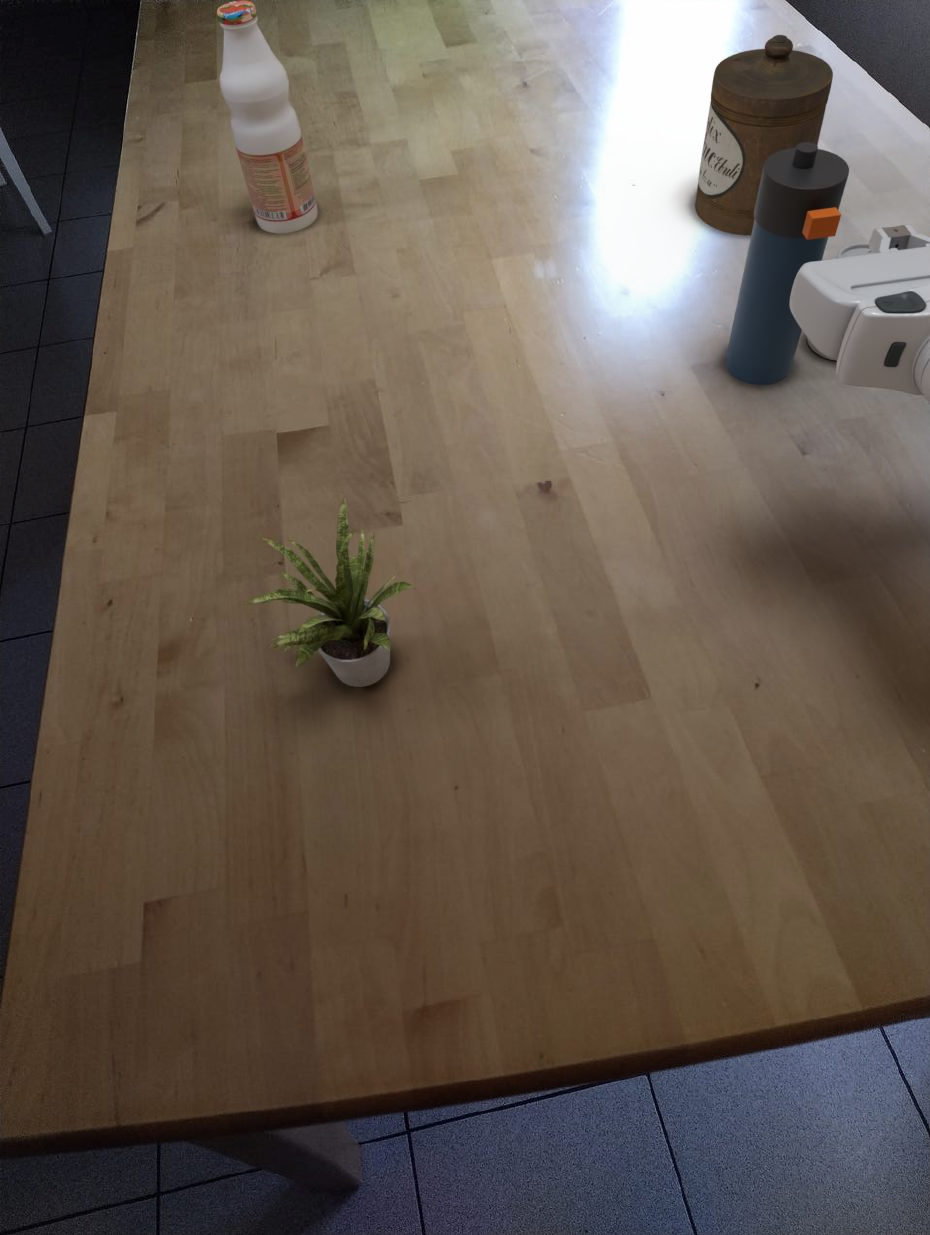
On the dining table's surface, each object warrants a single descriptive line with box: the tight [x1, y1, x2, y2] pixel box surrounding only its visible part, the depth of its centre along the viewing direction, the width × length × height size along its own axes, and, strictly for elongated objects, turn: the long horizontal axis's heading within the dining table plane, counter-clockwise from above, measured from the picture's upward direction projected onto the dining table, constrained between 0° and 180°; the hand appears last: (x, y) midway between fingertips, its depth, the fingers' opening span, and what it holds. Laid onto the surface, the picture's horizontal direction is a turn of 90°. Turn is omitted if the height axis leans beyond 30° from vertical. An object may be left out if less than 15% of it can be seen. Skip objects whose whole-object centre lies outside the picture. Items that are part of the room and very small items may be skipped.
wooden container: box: [694, 34, 834, 236], centre depth 115 cm, size 15×15×22 cm
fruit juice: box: [216, 0, 319, 234], centre depth 120 cm, size 9×9×28 cm
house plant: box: [242, 496, 417, 688], centre depth 77 cm, size 14×14×16 cm
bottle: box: [724, 142, 850, 386], centre depth 94 cm, size 8×8×26 cm
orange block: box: [802, 207, 842, 240], centre depth 83 cm, size 1×3×2 cm, turn 97°
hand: (887, 234), depth 72 cm, fingers closed
